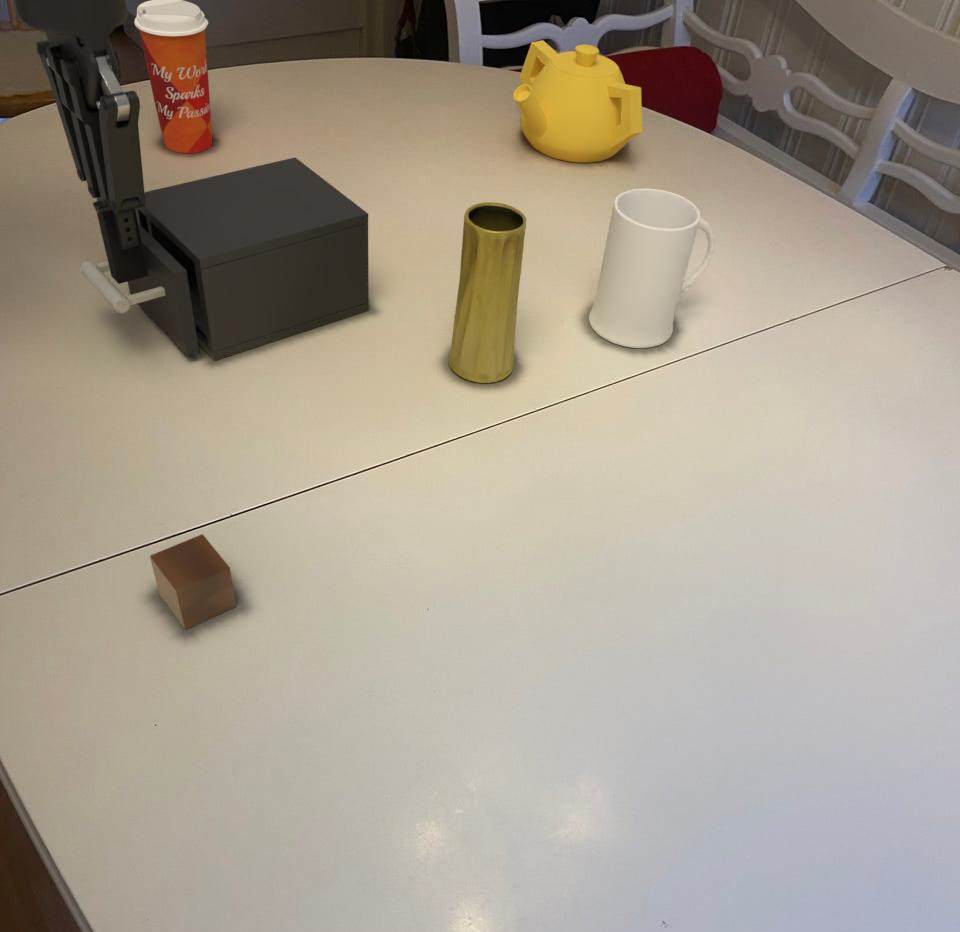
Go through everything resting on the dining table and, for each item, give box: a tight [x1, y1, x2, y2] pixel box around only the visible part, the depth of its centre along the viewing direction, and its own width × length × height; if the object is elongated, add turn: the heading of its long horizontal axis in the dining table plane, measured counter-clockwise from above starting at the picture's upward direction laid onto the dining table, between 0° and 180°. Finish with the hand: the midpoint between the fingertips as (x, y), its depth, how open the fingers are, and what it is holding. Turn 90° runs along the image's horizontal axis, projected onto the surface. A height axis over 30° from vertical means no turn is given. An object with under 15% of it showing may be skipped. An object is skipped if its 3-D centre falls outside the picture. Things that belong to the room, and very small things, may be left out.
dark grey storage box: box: [135, 157, 370, 362], centre depth 90 cm, size 17×13×10 cm
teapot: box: [513, 39, 643, 164], centre depth 119 cm, size 20×18×11 cm
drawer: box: [79, 217, 207, 357], centre depth 88 cm, size 20×12×8 cm, turn 128°
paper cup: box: [134, 0, 213, 154], centre depth 109 cm, size 8×8×14 cm
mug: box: [588, 187, 716, 349], centre depth 93 cm, size 12×8×12 cm
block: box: [149, 533, 237, 630], centre depth 67 cm, size 4×4×4 cm
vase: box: [448, 201, 527, 384], centre depth 85 cm, size 6×6×14 cm
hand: (129, 275), depth 83 cm, fingers closed
